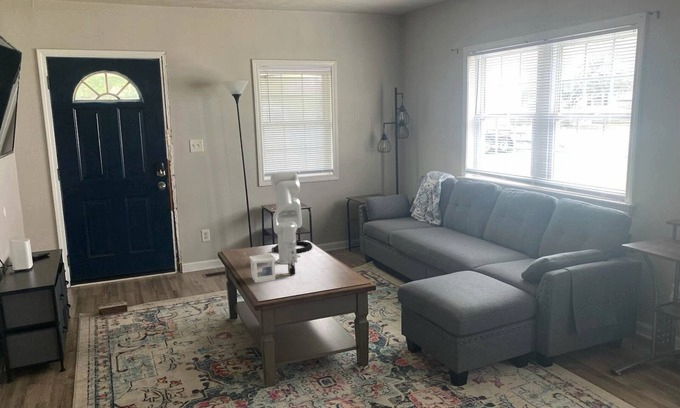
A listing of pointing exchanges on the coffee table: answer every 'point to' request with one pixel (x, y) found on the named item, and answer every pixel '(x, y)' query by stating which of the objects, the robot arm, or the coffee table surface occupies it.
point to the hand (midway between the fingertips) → (291, 273)
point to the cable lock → (299, 250)
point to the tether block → (268, 271)
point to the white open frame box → (258, 275)
